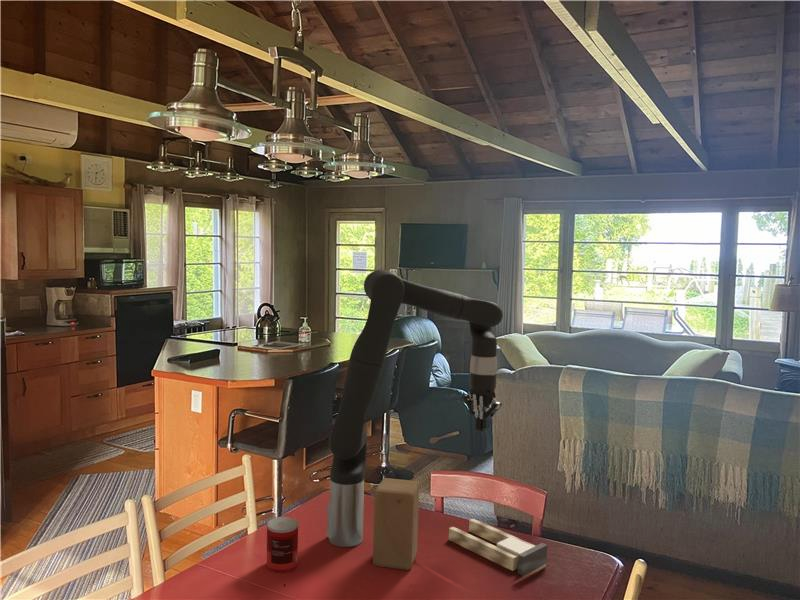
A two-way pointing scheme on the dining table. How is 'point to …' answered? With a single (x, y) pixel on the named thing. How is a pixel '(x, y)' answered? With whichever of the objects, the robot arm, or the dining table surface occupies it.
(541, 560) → the birch chute
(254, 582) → the dining table surface
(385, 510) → the wooden block
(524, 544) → the off-white block
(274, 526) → the canned food
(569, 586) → the dining table surface
